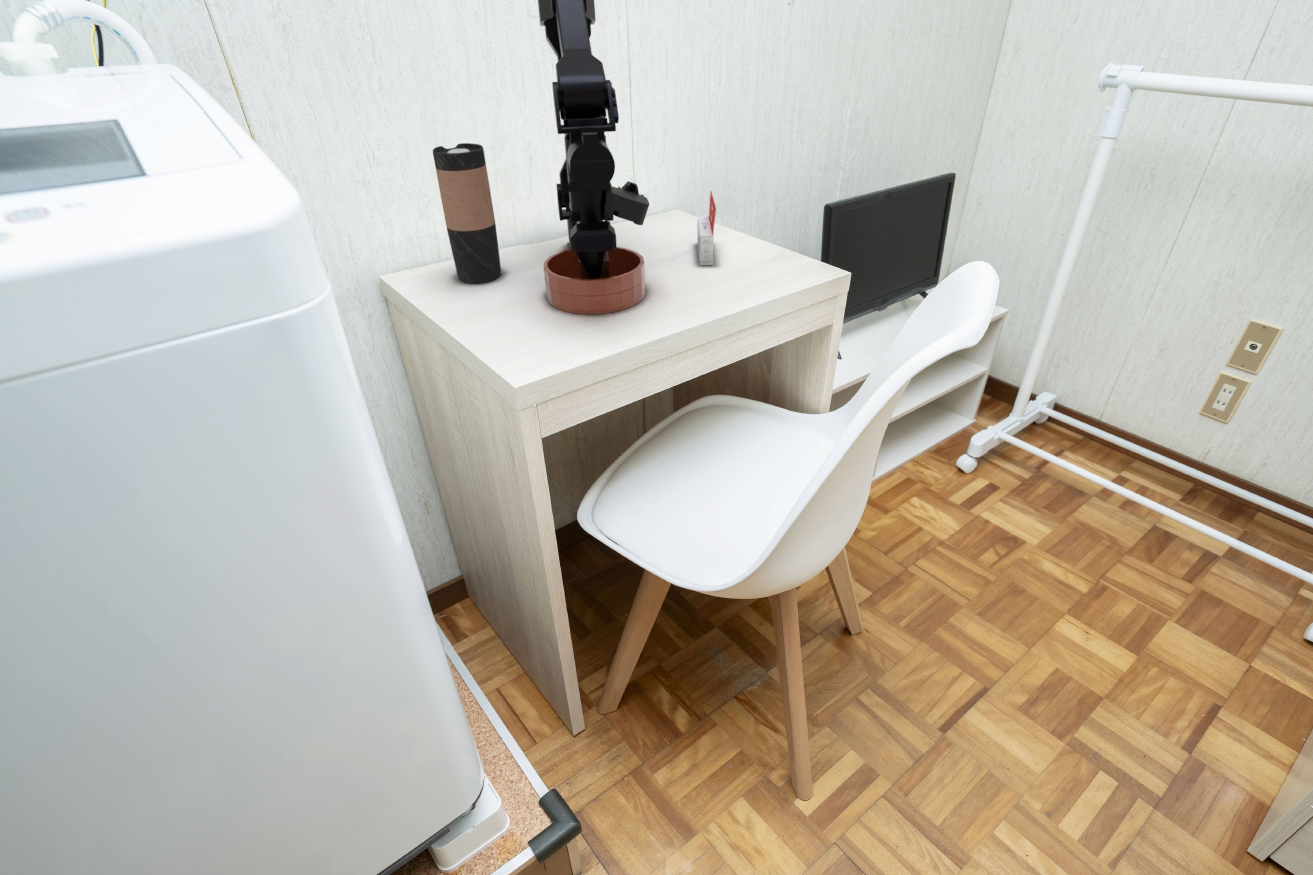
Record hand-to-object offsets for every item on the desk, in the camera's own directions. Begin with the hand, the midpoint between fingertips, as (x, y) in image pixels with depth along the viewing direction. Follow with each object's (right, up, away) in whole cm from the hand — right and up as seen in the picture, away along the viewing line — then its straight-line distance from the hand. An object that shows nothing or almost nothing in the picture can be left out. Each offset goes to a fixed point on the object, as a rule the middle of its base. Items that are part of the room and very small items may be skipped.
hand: (595, 278), depth 103 cm
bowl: (0, -2, +1) cm, 3 cm away
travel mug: (-20, +2, +9) cm, 22 cm away
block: (0, -1, +1) cm, 1 cm away
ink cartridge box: (+18, +8, +16) cm, 25 cm away
